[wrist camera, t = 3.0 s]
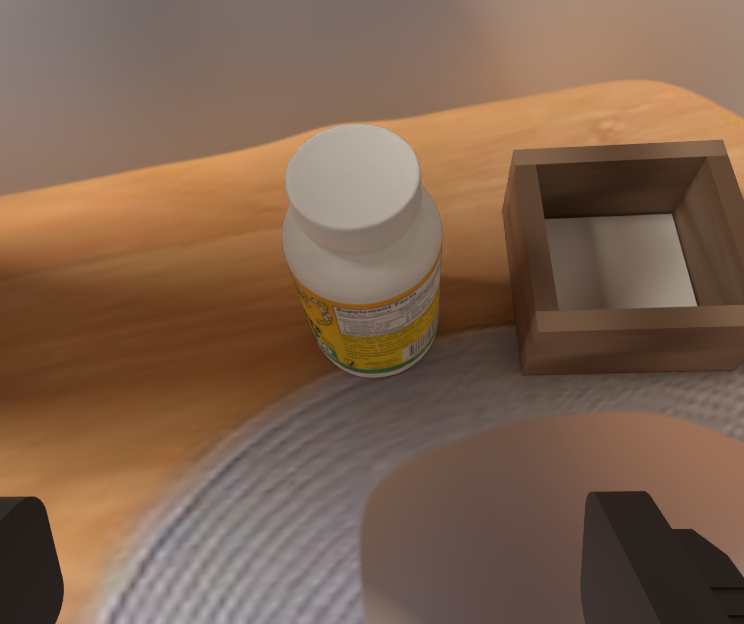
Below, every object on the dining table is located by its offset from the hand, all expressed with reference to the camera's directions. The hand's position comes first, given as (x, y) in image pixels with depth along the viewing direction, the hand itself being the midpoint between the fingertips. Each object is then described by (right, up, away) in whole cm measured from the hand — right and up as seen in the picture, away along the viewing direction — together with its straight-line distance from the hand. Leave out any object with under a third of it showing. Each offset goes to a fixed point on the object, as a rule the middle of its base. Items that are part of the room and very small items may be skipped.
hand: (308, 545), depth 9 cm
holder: (+11, +5, +17) cm, 21 cm away
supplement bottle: (+1, +3, +17) cm, 18 cm away
